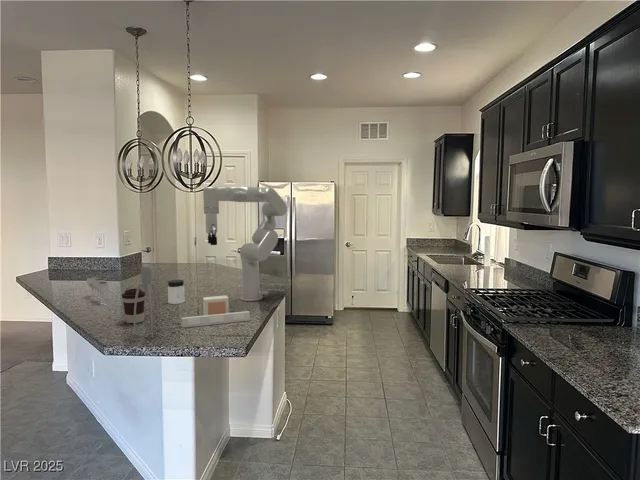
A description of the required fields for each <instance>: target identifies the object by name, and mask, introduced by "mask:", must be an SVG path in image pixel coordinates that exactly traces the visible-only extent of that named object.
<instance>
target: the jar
mask: <svg viewBox="0 0 640 480" xmlns="http://www.w3.org/2000/svg"><path fill="white" fill-rule="evenodd" d="M185 296H186V294H185V284H184V279H172V280H171V279H170V280H168V281H167V299H168V300H167V301H168V302H167V303H168V304H171V305H178V304H183V303H184V302H186V297H185Z"/></svg>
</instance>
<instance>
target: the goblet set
mask: <svg viewBox="0 0 640 480" xmlns="http://www.w3.org/2000/svg"><path fill="white" fill-rule="evenodd" d="M86 284H87V286H89V287H90V288H91V291H92V293H94V295H95V296H94V295H92V296H90V298H89V299H94V300H93V301H98V303H97V304H99V306H107V304H108V305H109V303H108V302H106V301H105V295H106V293H107V291H108V289H109V283H108V282H107V281H106V278H101V277H100V276H98V275H97V276H88V277H87V278H86ZM99 295H100V297H99ZM102 297H103V299H102ZM97 299H98V300H97Z"/></svg>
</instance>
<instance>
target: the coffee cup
mask: <svg viewBox="0 0 640 480" xmlns="http://www.w3.org/2000/svg"><path fill="white" fill-rule="evenodd" d="M136 291H137V288H129V289H126V290H125V292H124V293H122V294H121V298H122V299H123V302H122V303H123V310H124V315H125V320H126V321H125V322H126V323H127V324H130V323H133V324H134V304H135V296H136ZM145 296H146V294H145V291H144V290H142V288H140V290H139V294H138V298H137V305H136V324H139V323H142V322H143V321H144V312H145V299H144V298H145Z"/></svg>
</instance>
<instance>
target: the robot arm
mask: <svg viewBox="0 0 640 480" xmlns="http://www.w3.org/2000/svg"><path fill="white" fill-rule="evenodd" d="M202 191H203V192H202V197H203V199H202V200H203V214H204V215H205V233H207V234H208V235H207V244H210V246H217V245H218V237H217V233H218V214H220V205H219V203H220V202H234V203H235V202H236V203H263V204H262V206H261V213H262V221H261V223H260V225H259V226H258V227H257V229H256V230H255V231H254V233H253V235H252V237H251V241H252V242H247V243H244V244H242V245H241V247H240V250H239V256H240V260H241V261H240V262H241V269H242V271H241V272H242V273H241V277H242V295H240V297H239V299H240V301H243V302H244V301H245V302H257V301H260V300H263V297H264V296H267V295H269V291H267V290H261V285H260V265H259V262H264V261H266V260H267V259H268V258H269V256H270V255H271V253H272V252H273V251H274V249H275V247H276V246H277V244H278V242H279V234H278V233H277V231H276V230H275V229H276V226H277V223H276V218H275V217H282V216H285V215H286V214H287V212H288V207H287V204H286V202H285V201H284V199H283V198H282V197H281V196H280V194H279V192H277V191H276V190H275V189H274V188H273V187H270V186H269V187H268V186H267V187H261V186H259V187H257V186H254V187H253V186H251V187H250V186H236V187H231V186H204V187H203V189H202ZM263 295H264V296H263Z"/></svg>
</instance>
